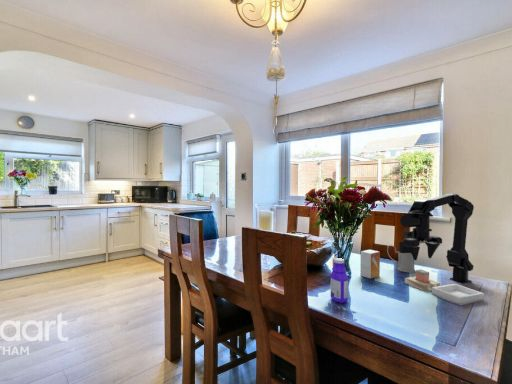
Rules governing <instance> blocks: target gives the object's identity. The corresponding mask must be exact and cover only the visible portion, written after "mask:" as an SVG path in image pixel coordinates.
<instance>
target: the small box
mask: <svg viewBox="0 0 512 384" xmlns="http://www.w3.org/2000/svg"><path fill="white" fill-rule="evenodd" d="M380 258H381V252H380V251H378V250H374V249H365V250H361V251H360V273H359V274H360V276H361V277H365V278H367V279H373V278H377V277H380V274H381V272H380V268H381V265H380V264H381V263H380V262H381V261H380V260H381V259H380Z"/></svg>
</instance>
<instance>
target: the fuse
mask: <svg viewBox="0 0 512 384" xmlns="http://www.w3.org/2000/svg"><path fill="white" fill-rule="evenodd" d="M415 276H416V280H417V281H420V282H423V283H428V282H429V279H430V272H429V271H426V270H424V269H416V270H415Z"/></svg>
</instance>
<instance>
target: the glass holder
mask: <svg viewBox="0 0 512 384" xmlns="http://www.w3.org/2000/svg"><path fill="white" fill-rule="evenodd" d="M390 246H392V247H394V251H395V252H394V253H397V254H398V262H397V261H396V260H395V259H393V258H392V257H391V256H390V253H389V247H390ZM386 252H387V255H388V257H389V258H390V259H391V260H392V261H393V262H395V264H397V270H398V271H399V272H404V273H416V270H415V260H414V259H413V256H412V253H411V251H410V249H409V248H408V247H407V246H405V245H403V241H400V242H398V251H397V249H396V246H395V245H393V244H389V245H388V246H387V249H386Z"/></svg>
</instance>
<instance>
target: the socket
mask: <svg viewBox="0 0 512 384" xmlns="http://www.w3.org/2000/svg"><path fill="white" fill-rule="evenodd" d="M404 283H405V284H406V285H409V286H412V287H414V288H417V289H418V290H420V291H424V292H427V291H428V292H429V291H432V287H437V286H442V284H441V282H438V281H436V280H432V279H430V278H429V282H428V283H423V282H420V281H417V280H416V275H415V276H410V277H404Z"/></svg>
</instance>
